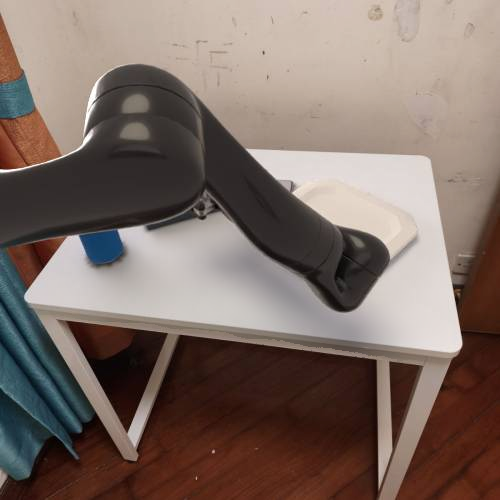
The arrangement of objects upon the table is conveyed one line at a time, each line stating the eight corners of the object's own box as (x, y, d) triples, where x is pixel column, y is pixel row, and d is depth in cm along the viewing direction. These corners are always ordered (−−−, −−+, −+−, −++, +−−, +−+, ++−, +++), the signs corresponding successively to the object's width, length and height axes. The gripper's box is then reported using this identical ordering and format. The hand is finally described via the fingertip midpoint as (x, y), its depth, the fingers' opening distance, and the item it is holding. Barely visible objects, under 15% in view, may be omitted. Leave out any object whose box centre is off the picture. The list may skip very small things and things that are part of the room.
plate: (321, 179, 95) (322, 171, 94) (428, 230, 82) (430, 221, 80) (237, 236, 83) (237, 227, 82) (345, 307, 70) (347, 298, 68)
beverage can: (119, 237, 85) (101, 185, 77) (128, 258, 81) (110, 205, 72) (85, 249, 83) (63, 197, 75) (92, 271, 79) (70, 218, 71)
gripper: (296, 171, 66) (228, 133, 75) (221, 213, 60) (156, 166, 69) (295, 211, 71) (231, 170, 80) (226, 253, 65) (164, 204, 74)
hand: (196, 168), depth 75 cm, fingers open, 8 cm apart
